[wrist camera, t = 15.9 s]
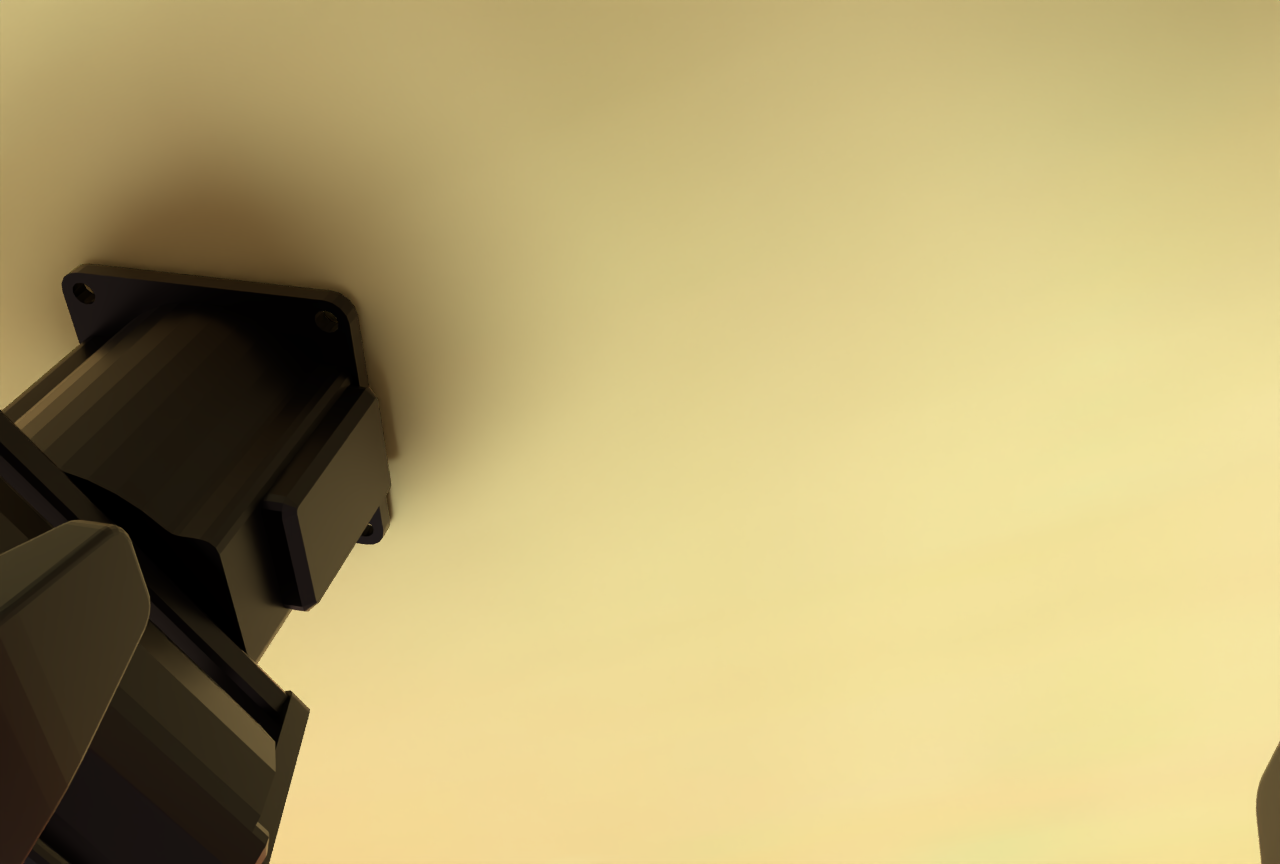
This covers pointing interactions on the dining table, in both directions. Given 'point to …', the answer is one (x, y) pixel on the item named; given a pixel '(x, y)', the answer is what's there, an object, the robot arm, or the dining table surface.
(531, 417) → the dining table surface
